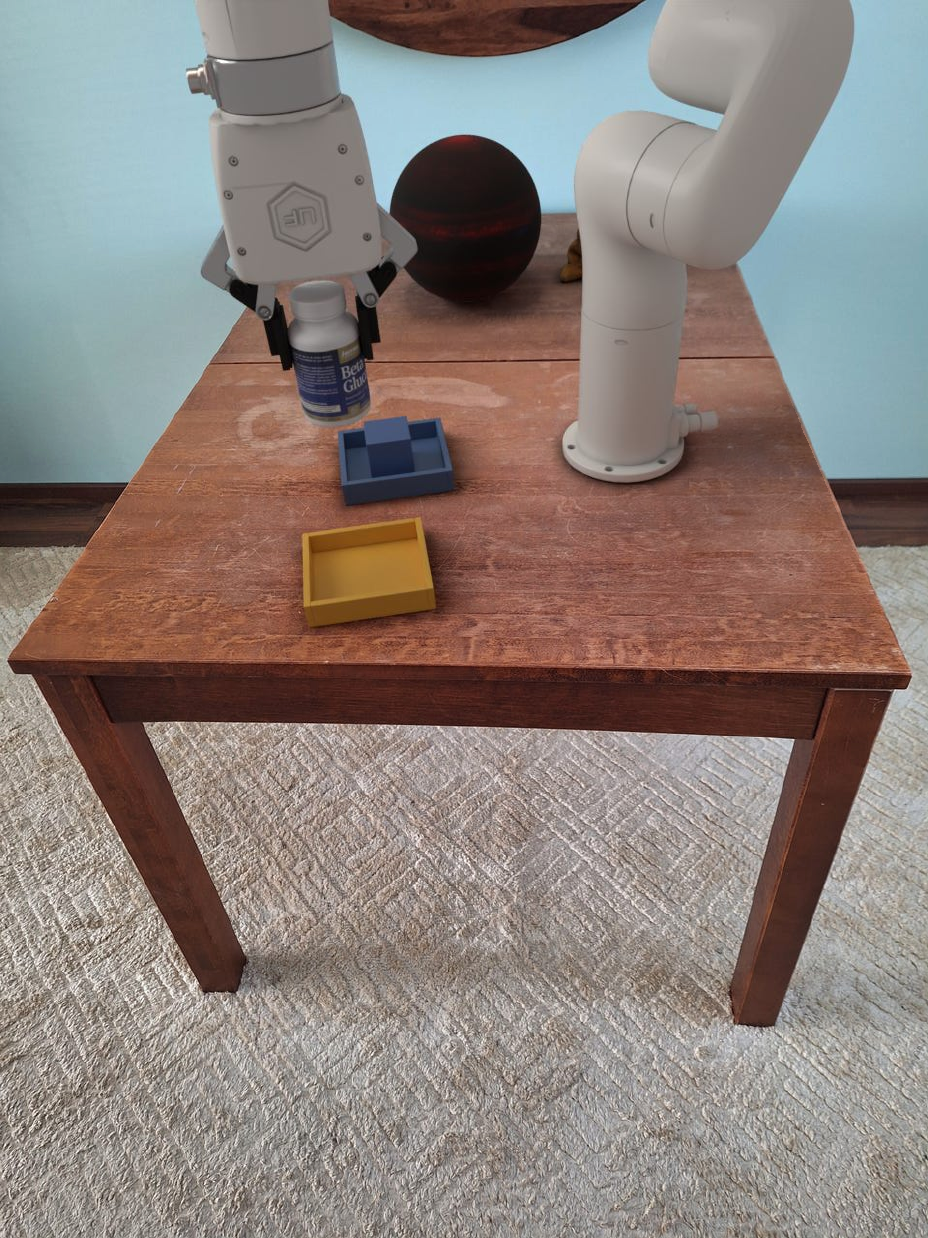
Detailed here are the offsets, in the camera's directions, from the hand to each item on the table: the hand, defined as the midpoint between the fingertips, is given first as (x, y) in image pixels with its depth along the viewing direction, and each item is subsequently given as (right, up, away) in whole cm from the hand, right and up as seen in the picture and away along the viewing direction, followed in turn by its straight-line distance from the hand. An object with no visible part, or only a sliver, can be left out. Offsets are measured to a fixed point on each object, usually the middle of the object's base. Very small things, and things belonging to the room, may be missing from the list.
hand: (327, 354), depth 65 cm
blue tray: (+3, -4, +27) cm, 27 cm away
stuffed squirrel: (+30, +31, +60) cm, 74 cm away
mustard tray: (+2, -16, +14) cm, 22 cm away
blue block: (+3, -4, +26) cm, 27 cm away
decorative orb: (+11, +25, +56) cm, 62 cm away
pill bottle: (0, -4, +4) cm, 5 cm away
